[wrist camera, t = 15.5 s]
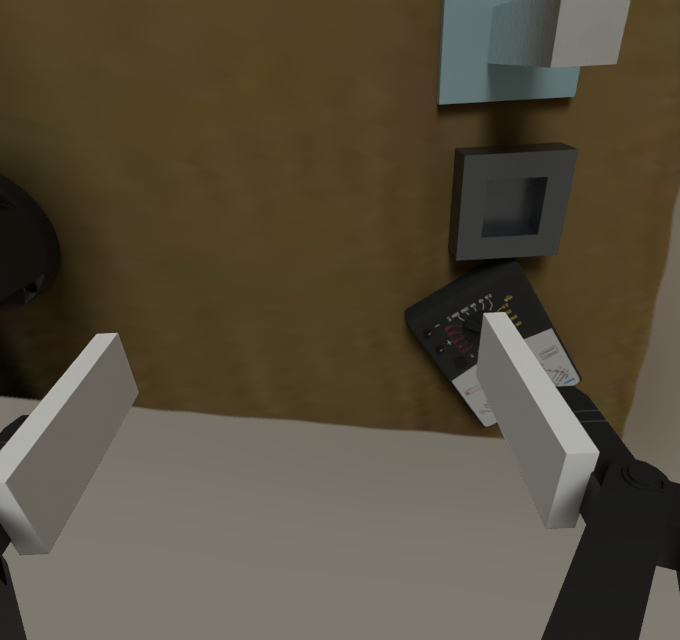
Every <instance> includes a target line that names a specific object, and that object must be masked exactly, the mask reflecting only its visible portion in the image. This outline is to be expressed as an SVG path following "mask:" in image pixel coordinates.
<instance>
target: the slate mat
mask: <svg viewBox="0 0 680 640" xmlns="http://www.w3.org/2000/svg"><path fill="white" fill-rule="evenodd" d="M511 1H515V0H442V12H441V31H440V51H439V70H438V90H437V104H456V103H474V102H491V101H508V100H526V99H543V98H561V97H575V92H576V87H577V82H578V76H579V71H580V66H573V67H555V68H547V67H532V66H518V65H504V64H490V63H487V60H488V49H489V39H490V29H491V19H492V8H493V6H497V5H501V4H504V3H508V2H511Z"/></svg>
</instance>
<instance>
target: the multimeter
mask: <svg viewBox="0 0 680 640" xmlns="http://www.w3.org/2000/svg"><path fill="white" fill-rule="evenodd" d="M497 312H505V313H506V314H507V316H508V317H509V319H510V320H511V322H512V323H513V325H514V326H515V328H516V329H517V331H518V332H519V333H520V335H521V336H522V338H523V339H524V341H525V342H526V344H527V345H528V347H529V348H530V350H531V351H532V353H533V354H534V356H535V357H536V359H537V360H538V362H539V363H540V365H541V366H542V368H543V369H544V370H545V372H546V373H547V375H548V376H549V378H550V379H551V381H552V382H553V384H554V385H555V386H573V385H575V384H577V383H579V382H580V381H581V380H582V378H581V376H580V374H579V372H578V370H577V369H576V367H575V365H574V363H573V361H572V359H571V358H570V356H569V354H568V352H567V350H566V348H565V347H564V345H563V343H562V341H561V339H560V337H559V336H558V334H557V332H556V330H555V328H554V327H553V325H552V323H551V321H550V319H549V317H548V316H547V314H546V312H545V310H544V308H543V306H542V305H541V303H540V301H539V299H538V297H537V295H536V294H535V292H534V290H533V288H532V286H531V285H530V283H529V281H528V279H527V277H526V275H525V274H524V272H523V270H522V268H521V266H520V264H519V263H518V261H517V260H516V258H515V257H512V258H494V259H490V260H488V261H486V262H485V263H483V264H481V265H480V266H478V267H476V268H475V269H473V270H471V271H470V272H468V273H466V274H465V275H463V276H461V277H460V278H458V279H456V280H454V281H453V282H451V283H449V284H448V285H446V286H444V287H443V288H441V289H439V290H438V291H436V292H434V293H433V294H431V295H429V296H428V297H426V298H424V299H423V300H421V301H419V302H418V303H416V304H414V305H413V306H411V307H409V308H408V309H406V310H405V318H406V321H407V324H408V326H409V328H410V329H411V331H412V332H413V333H414V335H415V336H416V337H417V339H418V340H419V341H420V343H421V344H422V345H423V347H424V348H425V349H426V351H427V352H428V353H429V355H430V356H431V358H432V359H433V360H434V362H435V363H436V364H437V366H438V367H439V368H440V370H441V371H442V372H443V374H444V375H445V376H446V378H447V379H448V380H449V382H450V383H451V385H452V386H453V387H454V389H455V390H456V391H457V393H458V394H459V395H460V397H461V398H462V399H463V401H464V402H465V403H466V405H467V406H468V407H469V409H470V410H471V412H472V413H473V414H474V416H475V417H476V418H477V420H478V421H479V422H480V424H481V425H482V426H483V427H488V426H491V425H493V424H495V423H497V421H496V418H495V416H494V414H493V412H492V409H491V407H490V405H489V403H488V401H487V398H486V396H485V394H484V392H483V390H482V387H481V385H480V383H479V381H478V379H477V376H476V370H477V362H478V354H479V346H480V338H481V330H482V322H483V314H484V313H497Z"/></svg>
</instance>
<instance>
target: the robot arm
mask: <svg viewBox="0 0 680 640" xmlns="http://www.w3.org/2000/svg"><path fill="white" fill-rule="evenodd" d="M58 265H59V248H58V243H57V239H56V236H55V233H54V230H53V228H52V226H51V224H50V222H49V220H48V219H47V217H46V215H45V214H44V212H43V211H42V210H41V208H40V207H39V206H38V205H37V204H36V202H35V201H34V200H33V199H32V198H31V197H30V196H29V195H28V194H27V193H26V192H25V191H23V190H22V189H21V188H20V187H19V186H17V185H16V184H15V183H13V182H12V181H10V180H9V179H7V178H6V177H4V176H2V175H0V313H2V312H5V311H9V310H12V309H16V308H19V307H21V306H23V305H25V304H27V303H29V302H31V301H32V300H33V299H35V298H36V297H37V296H38V295H40V294H41V293H42V292H43V291H44V290H46V289H47V288H48V287H49V285H50V284H51V283H52V281H53V280H54V278H55V276H56V273H57V270H58ZM476 376H477V379H478V381H479V383H480V385H481V387H482V390H483V392H484V394H485V396H486V398H487V401H488V403H489V405H490V407H491V409H492V412H493V414H494V416H495V418H496V421H497V423H498V425H499V427H500V429H501V432H502V434H503V436H504V438H505V440H506V443H507V445H508V447H509V449H510V451H511V453H512V456H513V458H514V460H515V462H516V465H517V467H518V469H519V471H520V473H521V476H522V478H523V480H524V482H525V484H526V487H527V489H528V491H529V493H530V496H531V498H532V500H533V502H534V504H535V506H536V509H537V511H538V513H539V515H540V517H541V520H542V522H543V524H544V526H545V529H557V528H574V527H575V526H576V522H577V520H578V517H579V514H581V515H582V517H583V519H584V521H585V523H586V527H585V530H584V532H583V534H582V537H581V539H580V542H579V545H578V547H577V550H576V552H575V555H574V557H573V560H572V562H571V565H570V568H569V570H568V573H567V576H566V578H565V580H564V583H563V585H562V588H561V591H560V593H559V596H558V598H557V601H556V603H555V606H554V608H553V611H552V613H551V616H550V618H549V621H548V624H547V626H546V629H545V631H544V634H543V636H542V639H541V640H639V636H640V632H641V627H642V623H643V619H644V614H645V610H646V606H647V602H648V597H649V593H650V589H651V585H652V580H653V576H654V571H655V568H656V566H660V567H664V568H668V569H672V570H676V571H677V578H678V584H679V591H680V484H679V483H675V482H671V481H669V480H668V478H667V477H666V475H664V474H663V473H662V472H661V471H660V470H659V469H657V468H656V467H654V466H652V465H650V464H648V463H646V462H643V461H640V460H636V459H635V458H634V456H633V455H632V454H631V452H630V451H629V450H628V448H627V447H626V446H625V444H624V443H623V442H622V440H621V439H620V438H619V436H618V435H617V434H616V432H615V431H614V430H613V428H612V427H611V426H610V424H609V423H608V422H606V420H605V418H604V416H603V415H602V414H601V412H600V411H598V408H597V407H596V406H595V404H594V403H593V402H592V400H591V399H590V398H589V397H588V396H587V395H586V394H584V393H583V392H582V391H580V390H579V389H577V388H576V387H575V386H555V385H554V384H553V382H552V381H551V379H550V378H549V376H548V375H547V373H546V372H545V370H544V369H543V368H542V366H541V365H540V363H539V362H538V360H537V359H536V357H535V356H534V354H533V353H532V351H531V350H530V348H529V347H528V345H527V344H526V342H525V341H524V339H523V338H522V336H521V335H520V333H519V332H518V331H517V329H516V328H515V326H514V325H513V323H512V322H511V320H510V319H509V317H508V316H507V314H506V313H505V312H497V313H484V314H483V322H482V330H481V338H480V346H479V354H478V362H477V370H476ZM138 393H139V392H138V389H137V386H136V383H135V381H134V378H133V375H132V372H131V369H130V366H129V363H128V360H127V358H126V355H125V352H124V349H123V346H122V343H121V340H120V338H119V335H118V333H107V334H96V336H95V337H94V338H93V339H92V340H91V342H90V343H89V344H88V345H87V346H86V348H85V349H84V350H83V351H82V352H81V354H80V355H79V356H78V357H77V359H76V360H75V361H74V362H73V363H72V365H71V366H70V367H69V368H68V369H67V371H66V372H65V373H64V374H63V376H62V377H61V378H60V379H59V380H58V382H57V383H56V384H55V385H54V386H53V388H52V389H51V390H50V391H49V392H48V394H47V395H46V396H45V397H44V399H43V400H42V401H41V402H40V403H39V405H38V406H37V407H36V408H35V409H34V411H33V412H32V413H31V414H30V415H23V416H20V417H19V418H18V419H16V420H15V421H13V422H12V423H11V424H9V425H8V426H7V427H5V428H4V429H3V430H2V432H1V433H0V640H27V639H26V635H25V631H24V627H23V623H22V619H21V615H20V611H19V607H18V603H17V600H16V595H15V591H14V588H13V583H12V580H11V576H10V572H9V568H8V564H7V562H6V560H5V559H4V558H3V556H2V554H3V553H4V551H5V550H6V548H7V546H8V545H9V543H10V542H12V544H13V545H14V547H15V548H16V550H17V551H18V553H19V554H20V555H35V554H49V552H50V551H51V549H52V547H53V545H54V544H55V542H56V540H57V538H58V536H59V535H60V533H61V531H62V529H63V527H64V526H65V524H66V522H67V520H68V518H69V517H70V515H71V513H72V511H73V510H74V508H75V506H76V504H77V502H78V501H79V499H80V497H81V495H82V493H83V491H84V490H85V488H86V486H87V484H88V483H89V481H90V479H91V477H92V476H93V474H94V472H95V470H96V468H97V467H98V464H99V463H100V461H101V460H102V458H103V456H104V454H105V452H106V451H107V449H108V447H109V445H110V443H111V442H112V440H113V438H114V436H115V435H116V433H117V431H118V429H119V427H120V426H121V424H122V422H123V420H124V418H125V416H126V415H127V413H128V411H129V409H130V408H131V406H132V404H133V402H134V401H135V399H136V397H137V395H138Z"/></svg>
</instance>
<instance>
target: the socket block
mask: <svg viewBox="0 0 680 640" xmlns="http://www.w3.org/2000/svg"><path fill="white" fill-rule="evenodd" d="M577 153H578V149H576V148H574V147H571V146H569V145H566V144H563V143H544V144H526V145H509V146H491V147H473V148H456V149H455V162H454V176H453V189H452V203H451V217H450V230H449V244H448V248H449V250H450V251H451V253H452V255H453V256H454V258H455V260H456V261H457V260H475V259H494V258H512V257H530V256H549V255H557V252H558V247H559V242H560V237H561V232H562V228H563V223H564V218H565V213H566V208H567V203H568V198H569V193H570V188H571V183H572V178H573V173H574V168H575V163H576V158H577Z"/></svg>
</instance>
